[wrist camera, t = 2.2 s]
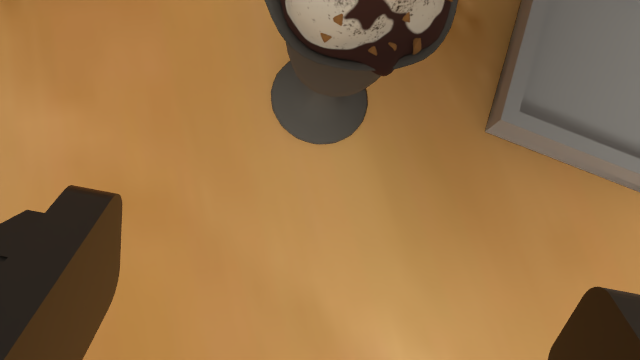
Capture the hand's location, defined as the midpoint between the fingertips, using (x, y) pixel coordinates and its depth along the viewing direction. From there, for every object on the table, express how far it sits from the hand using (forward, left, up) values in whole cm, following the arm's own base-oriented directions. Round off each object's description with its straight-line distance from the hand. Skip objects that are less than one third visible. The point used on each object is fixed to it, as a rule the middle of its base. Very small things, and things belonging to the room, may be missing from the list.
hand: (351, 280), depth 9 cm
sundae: (-2, +10, -16) cm, 19 cm away
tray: (+13, +18, -16) cm, 28 cm away
